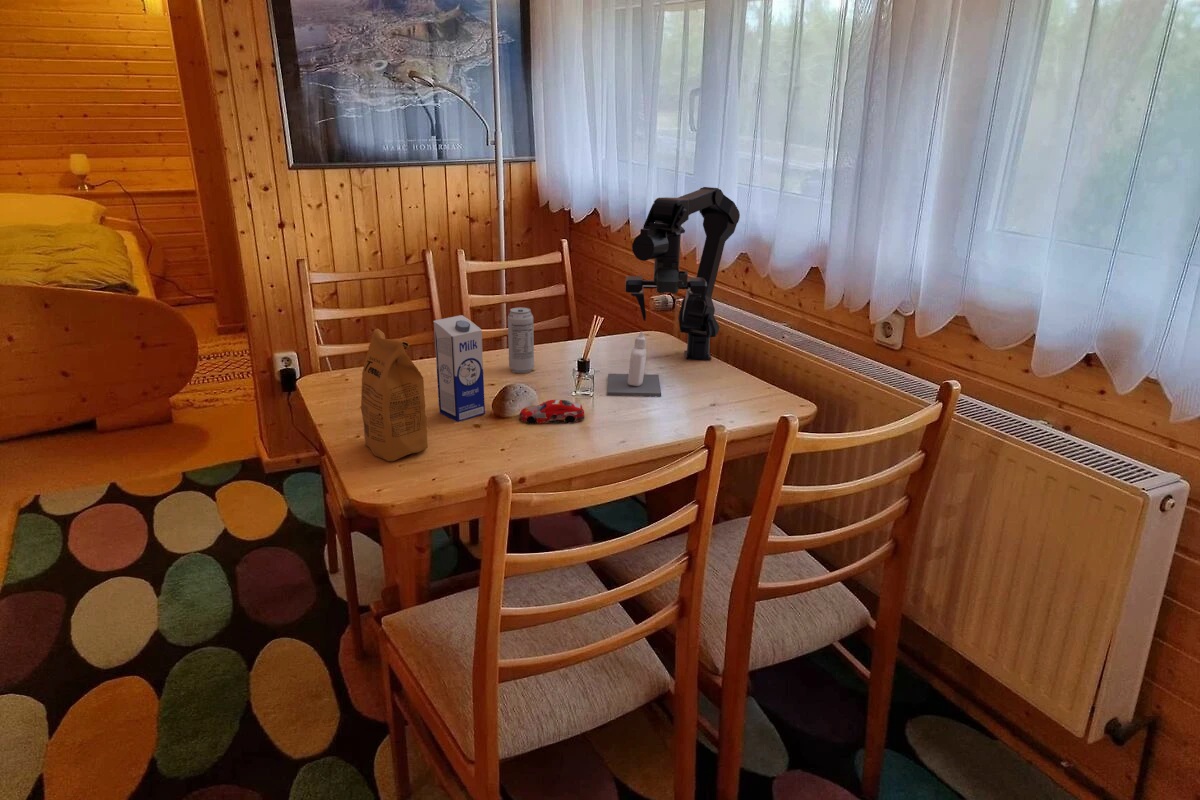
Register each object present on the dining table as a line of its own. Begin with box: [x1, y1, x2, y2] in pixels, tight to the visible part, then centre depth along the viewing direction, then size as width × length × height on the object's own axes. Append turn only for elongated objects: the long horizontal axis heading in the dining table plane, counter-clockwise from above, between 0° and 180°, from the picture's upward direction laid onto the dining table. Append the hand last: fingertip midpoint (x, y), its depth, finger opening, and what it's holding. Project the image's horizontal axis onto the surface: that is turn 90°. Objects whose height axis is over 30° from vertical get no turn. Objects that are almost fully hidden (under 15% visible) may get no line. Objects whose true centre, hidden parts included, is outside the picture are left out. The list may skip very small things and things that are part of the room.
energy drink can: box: [507, 306, 535, 374], centre depth 185 cm, size 6×6×15 cm
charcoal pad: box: [606, 373, 662, 398], centre depth 178 cm, size 13×12×1 cm
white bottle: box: [627, 331, 647, 386], centre depth 176 cm, size 4×6×12 cm
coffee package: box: [360, 328, 429, 462], centre depth 140 cm, size 10×12×22 cm
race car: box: [519, 399, 585, 425], centre depth 158 cm, size 13×5×4 cm, turn 94°
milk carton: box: [433, 314, 486, 423], centre depth 158 cm, size 7×7×20 cm
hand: (664, 320), depth 183 cm, fingers open, 9 cm apart
